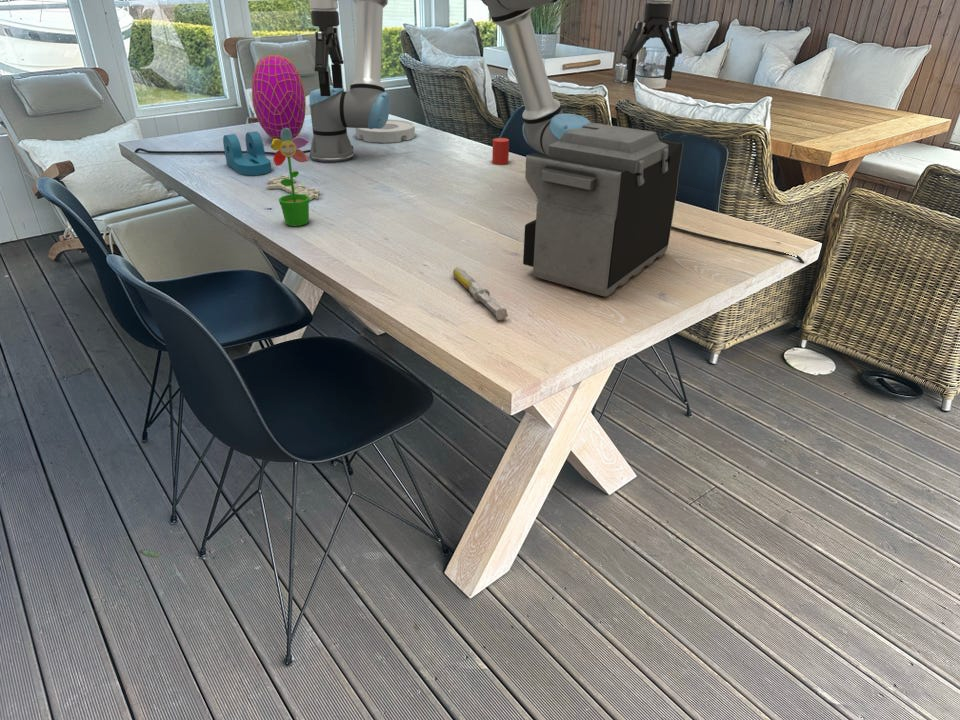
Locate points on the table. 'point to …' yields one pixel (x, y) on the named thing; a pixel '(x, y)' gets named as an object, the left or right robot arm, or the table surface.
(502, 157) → the canister
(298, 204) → the potted flower
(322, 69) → the left robot arm
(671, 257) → the table surface
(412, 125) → the ashtray
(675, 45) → the right robot arm
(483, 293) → the syringe
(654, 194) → the grey cooler box
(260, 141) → the camera mount
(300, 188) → the decorative sign
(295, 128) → the decorative egg
